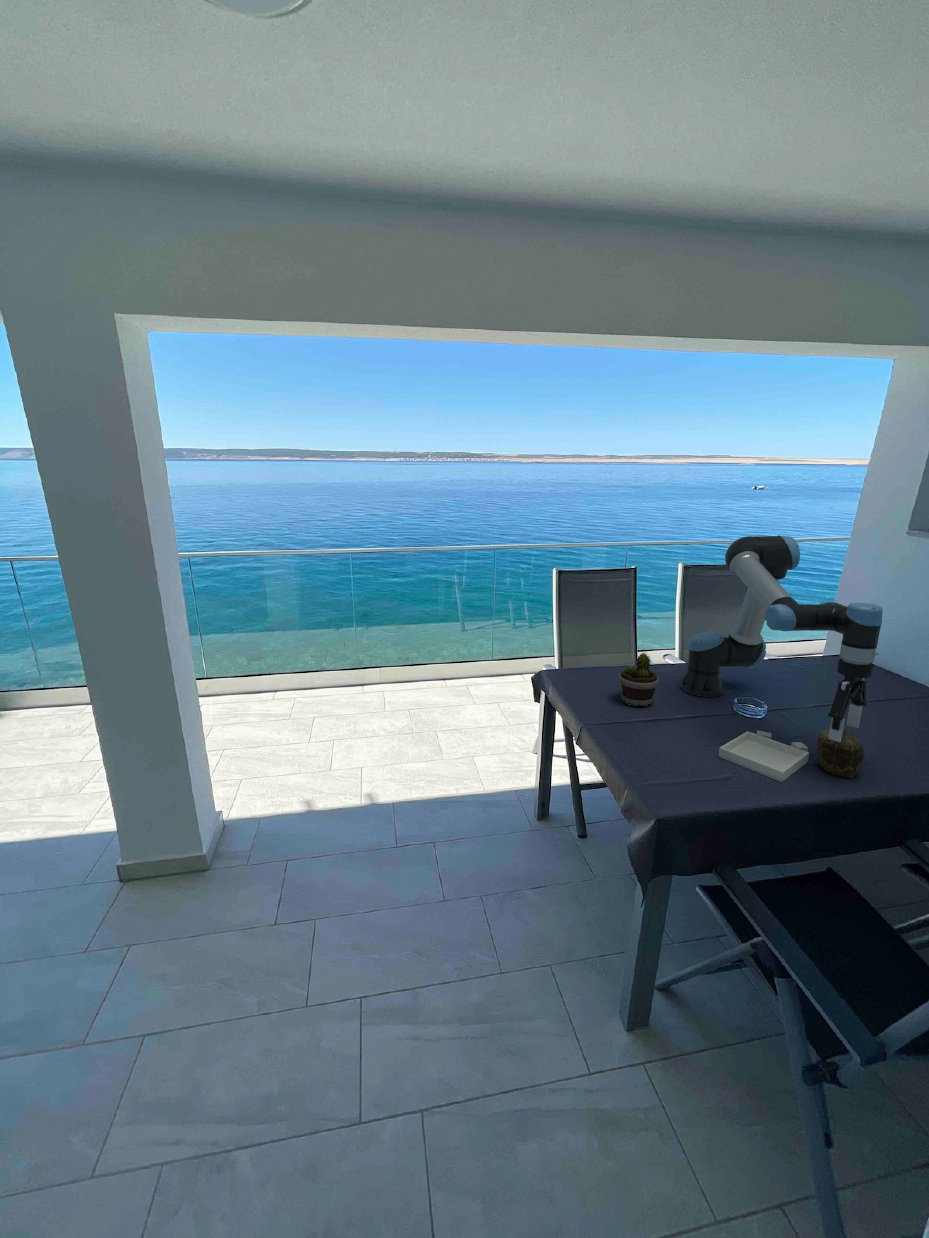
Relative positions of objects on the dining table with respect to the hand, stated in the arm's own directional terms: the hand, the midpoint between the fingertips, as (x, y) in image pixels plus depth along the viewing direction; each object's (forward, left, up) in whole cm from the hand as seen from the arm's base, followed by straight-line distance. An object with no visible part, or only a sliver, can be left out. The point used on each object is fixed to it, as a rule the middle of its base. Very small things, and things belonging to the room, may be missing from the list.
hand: (843, 733), depth 141 cm
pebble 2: (-11, +4, -12) cm, 17 cm away
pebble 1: (-21, +3, -12) cm, 25 cm away
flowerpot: (-64, -3, -12) cm, 65 cm away
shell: (0, 0, -12) cm, 12 cm away
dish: (-16, -10, -12) cm, 22 cm away
